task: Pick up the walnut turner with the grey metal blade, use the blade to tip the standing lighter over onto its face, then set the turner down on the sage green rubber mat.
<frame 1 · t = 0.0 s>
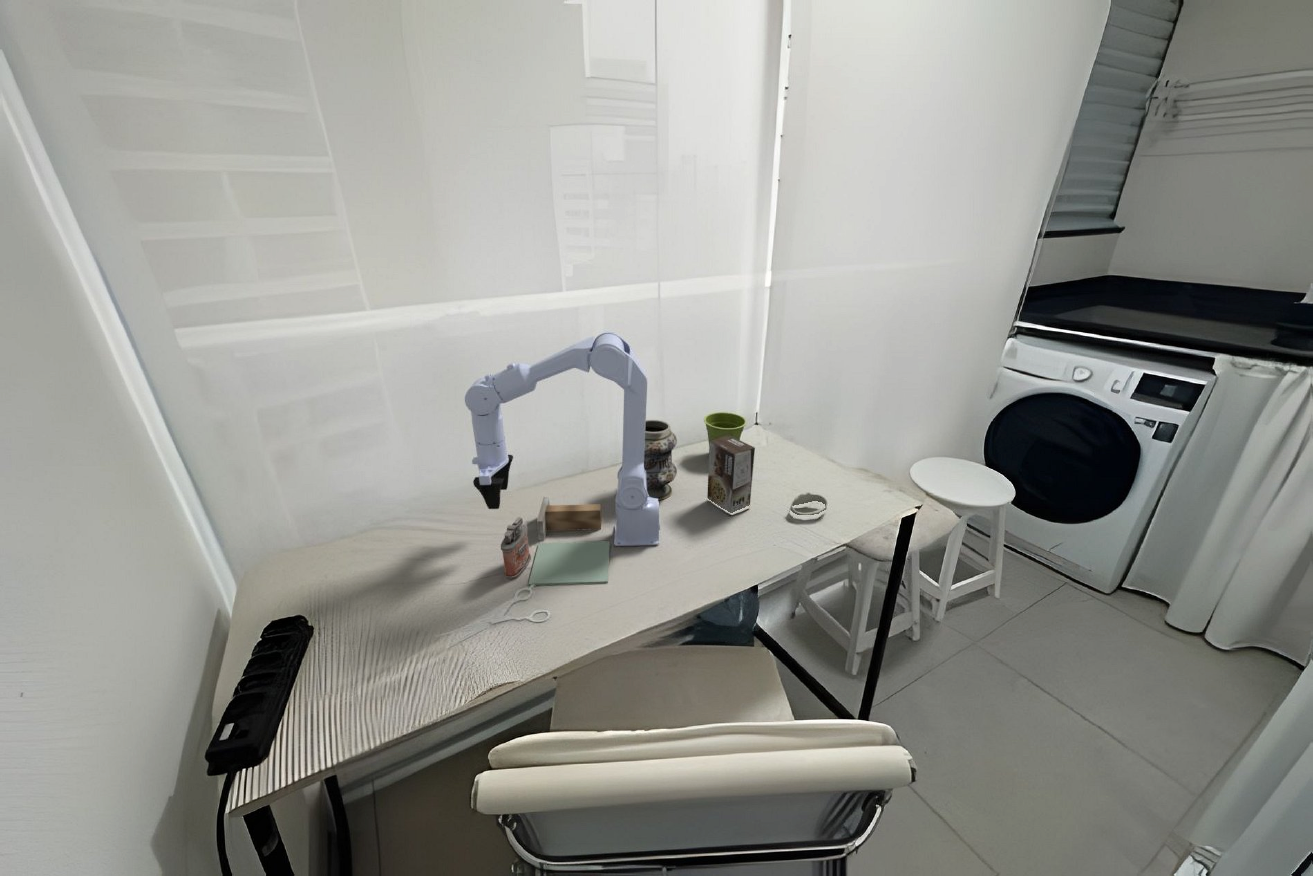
hand: (498, 498, 111), 10 cm above the table, tool pointing down, fingers open, 7 cm apart
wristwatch: (807, 515, 125), on the table
apothecary jar: (652, 492, 134), on the table
scissors: (495, 622, 93), on the table
plant pot: (722, 456, 152), on the table
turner: (566, 527, 119), on the table
coffee box: (728, 505, 129), on the table
tool mat: (571, 562, 108), on the table
lighter: (518, 568, 106), on the table
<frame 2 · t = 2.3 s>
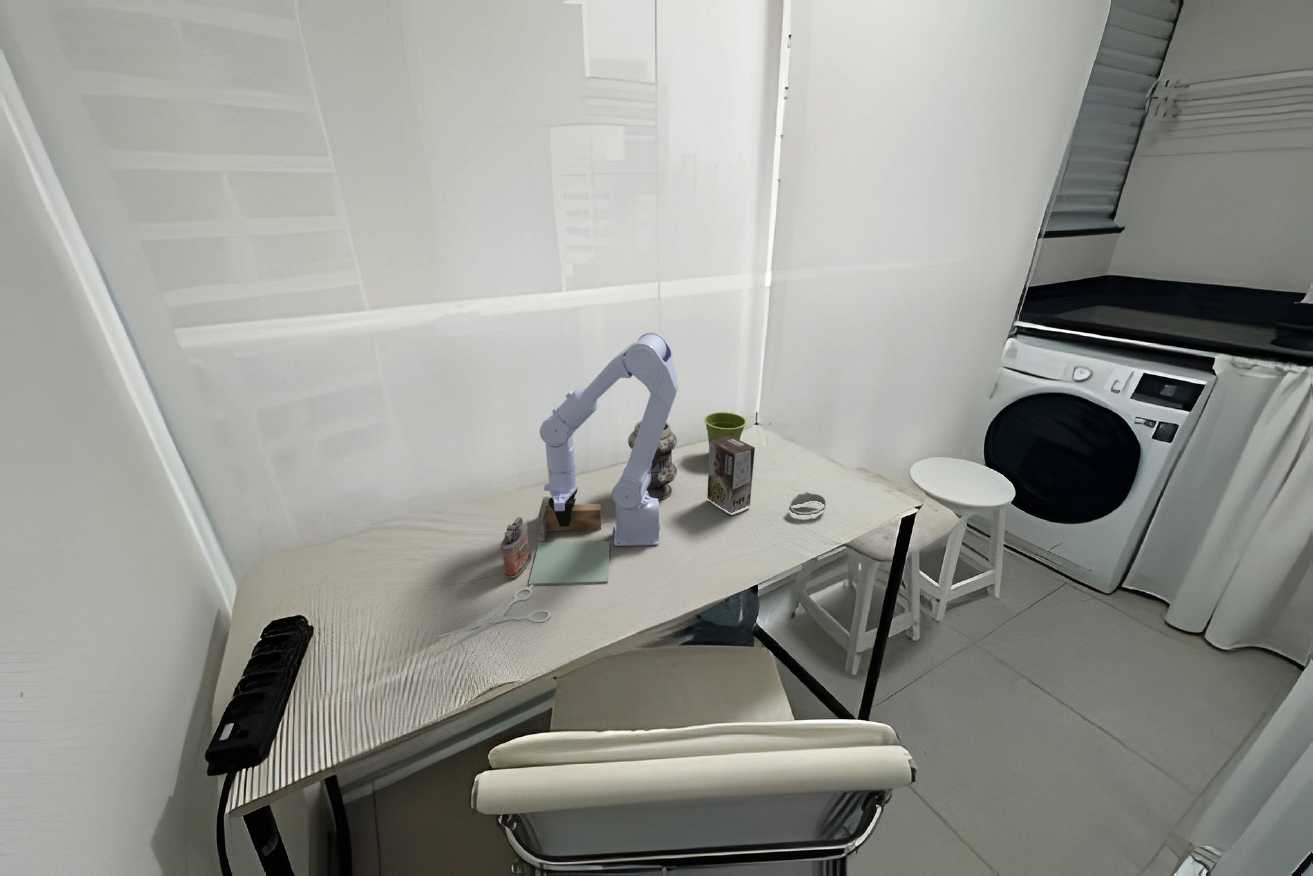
hand: (565, 521, 119), 1 cm above the table, tool pointing down, fingers closed on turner, 2 cm apart
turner: (566, 526, 119), on the table, touching gripper
everything else where it was.
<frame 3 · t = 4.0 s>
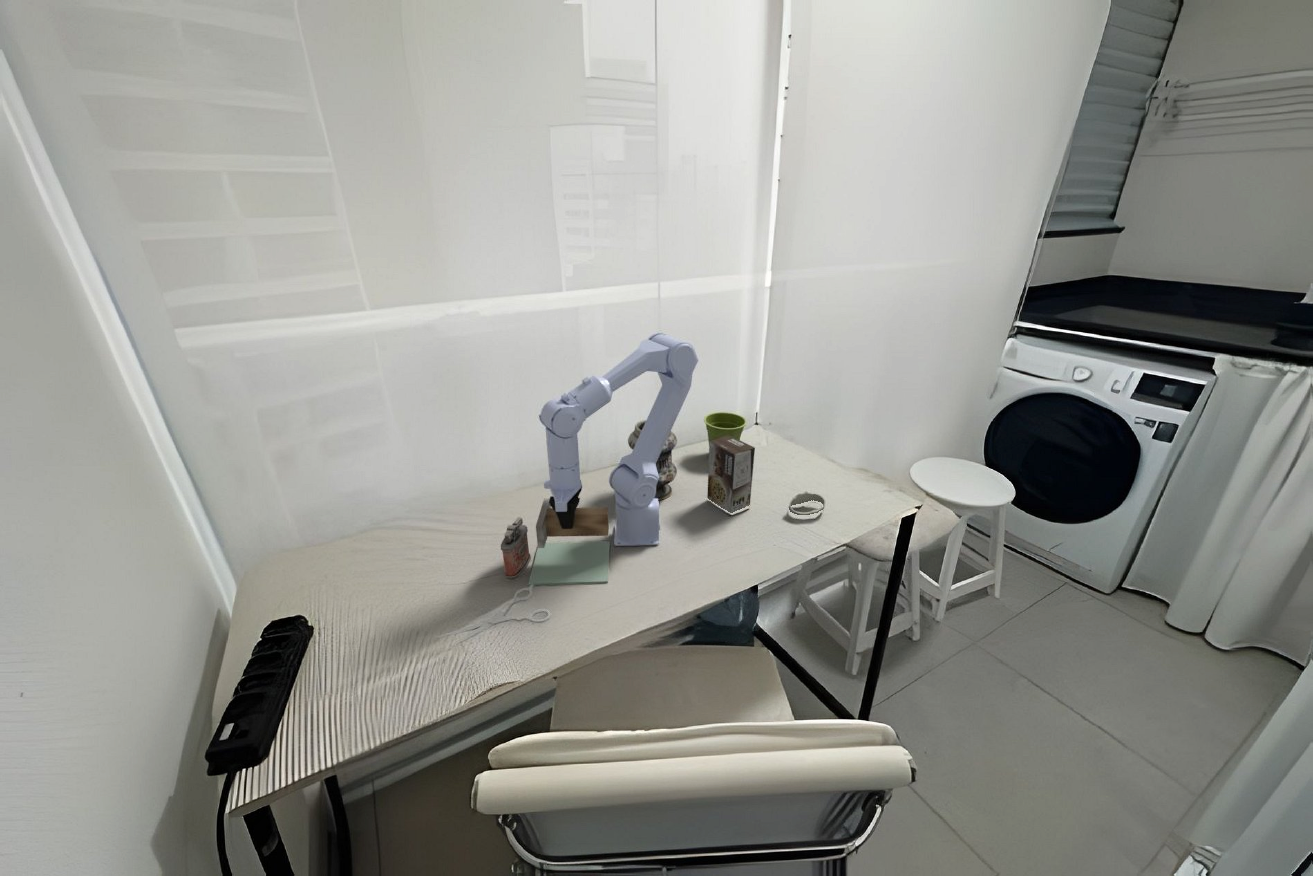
hand: (568, 523, 106), 8 cm above the table, tool pointing down, fingers closed on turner, 2 cm apart
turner: (568, 532, 107), point 6 cm above the table, touching gripper
everything else where it was.
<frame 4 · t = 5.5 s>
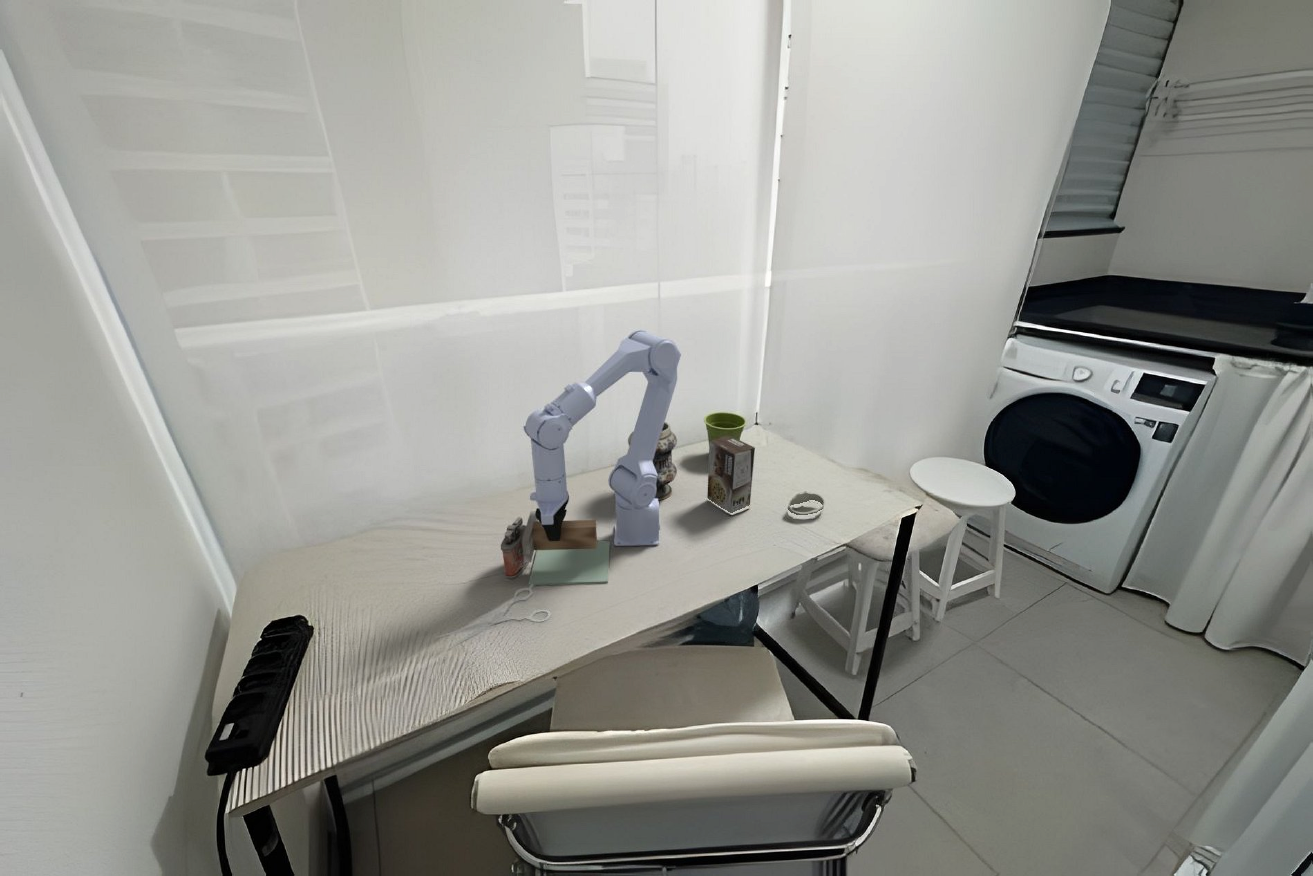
hand: (555, 535, 104), 7 cm above the table, tool pointing down, fingers closed on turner, 2 cm apart
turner: (556, 546, 105), point 5 cm above the table, touching gripper
everything else where it was.
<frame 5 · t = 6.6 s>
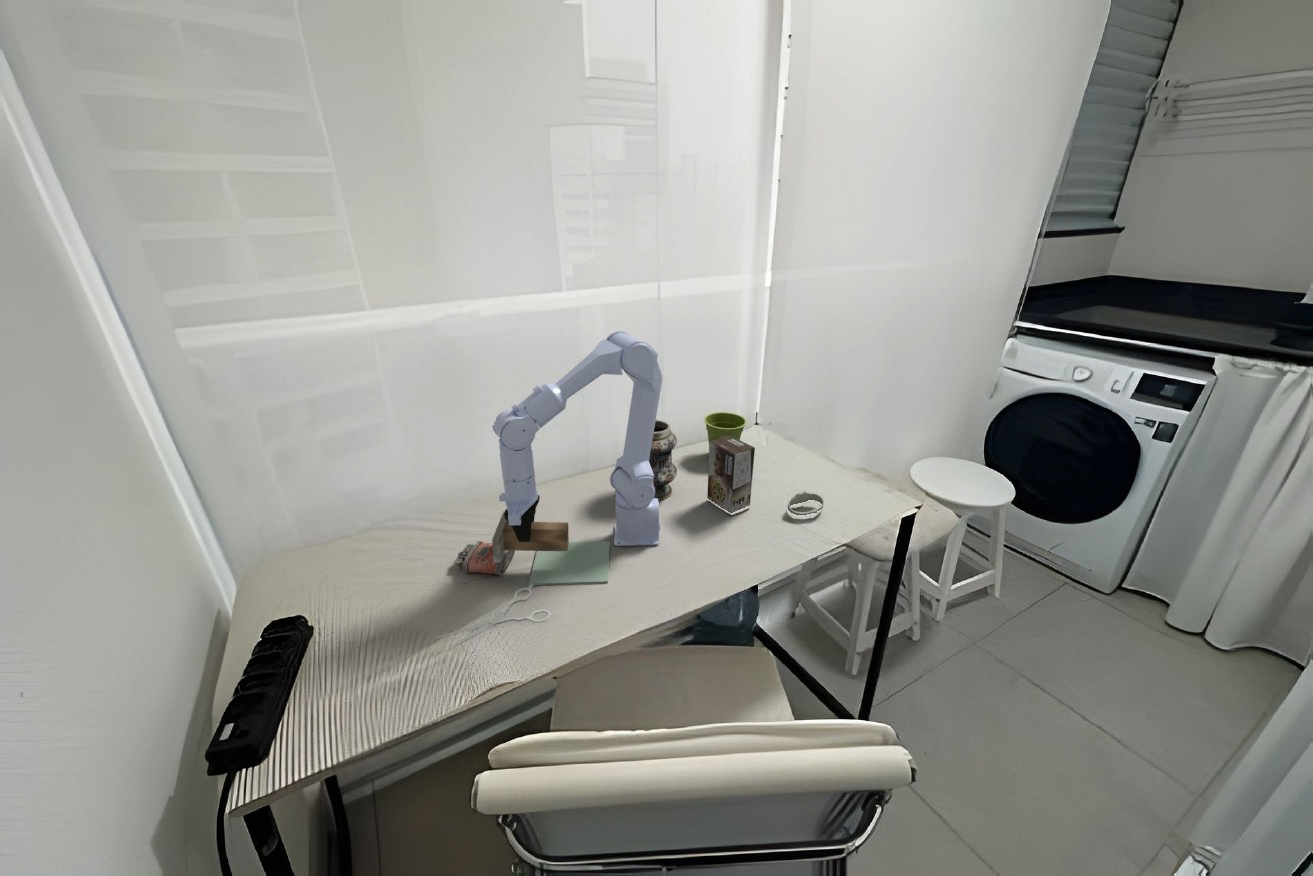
hand: (525, 536, 103), 7 cm above the table, tool pointing down, fingers closed on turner, 2 cm apart
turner: (527, 546, 104), point 5 cm above the table, touching gripper
lighter: (508, 559, 106), point 2 cm above the table
everything else where it was.
when the fingers open (3 cm above the table, at t = 9.2 s): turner stays where it is, resting on tool mat.
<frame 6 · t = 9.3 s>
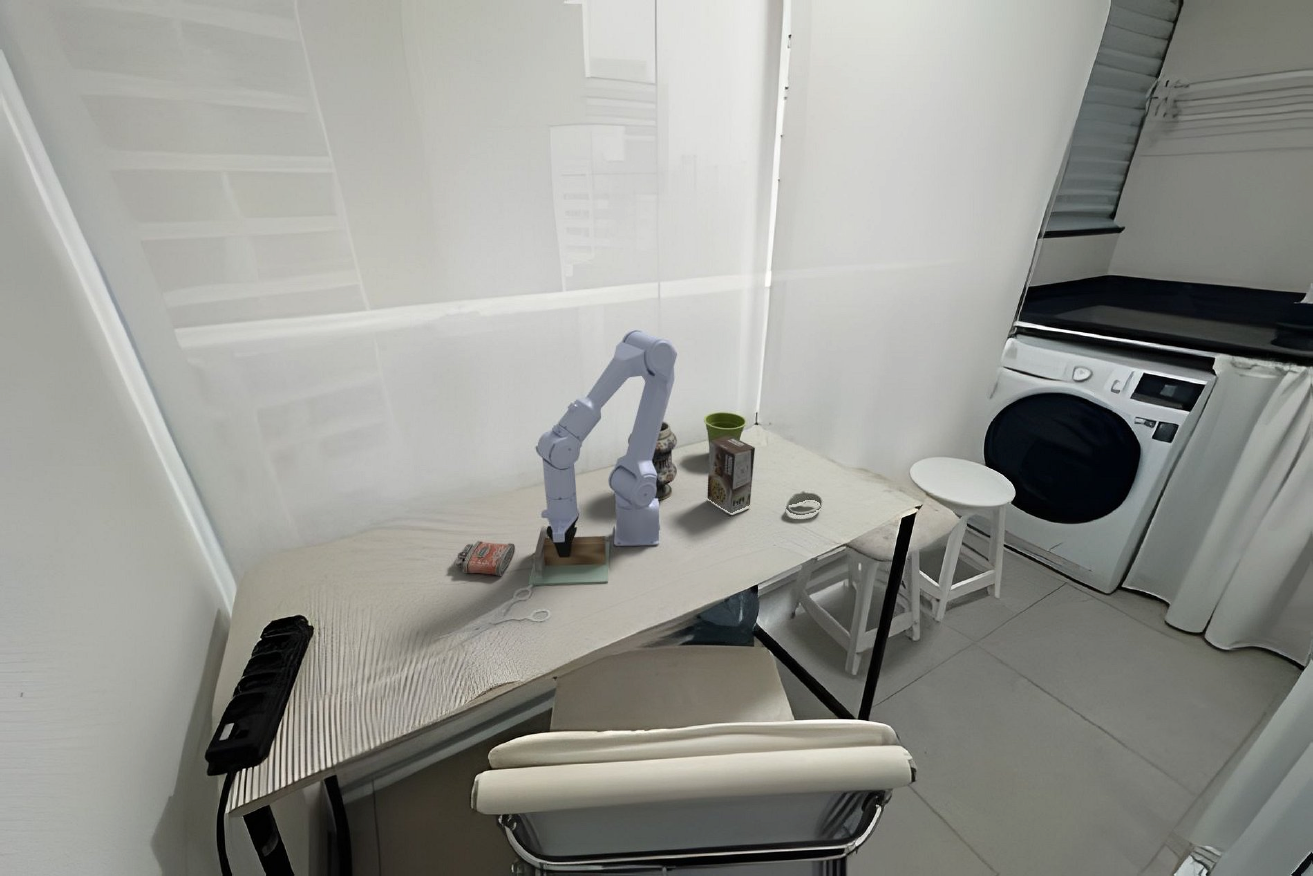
hand: (565, 551, 106), 3 cm above the table, tool pointing down, fingers open, 3 cm apart
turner: (566, 561, 108), resting on tool mat
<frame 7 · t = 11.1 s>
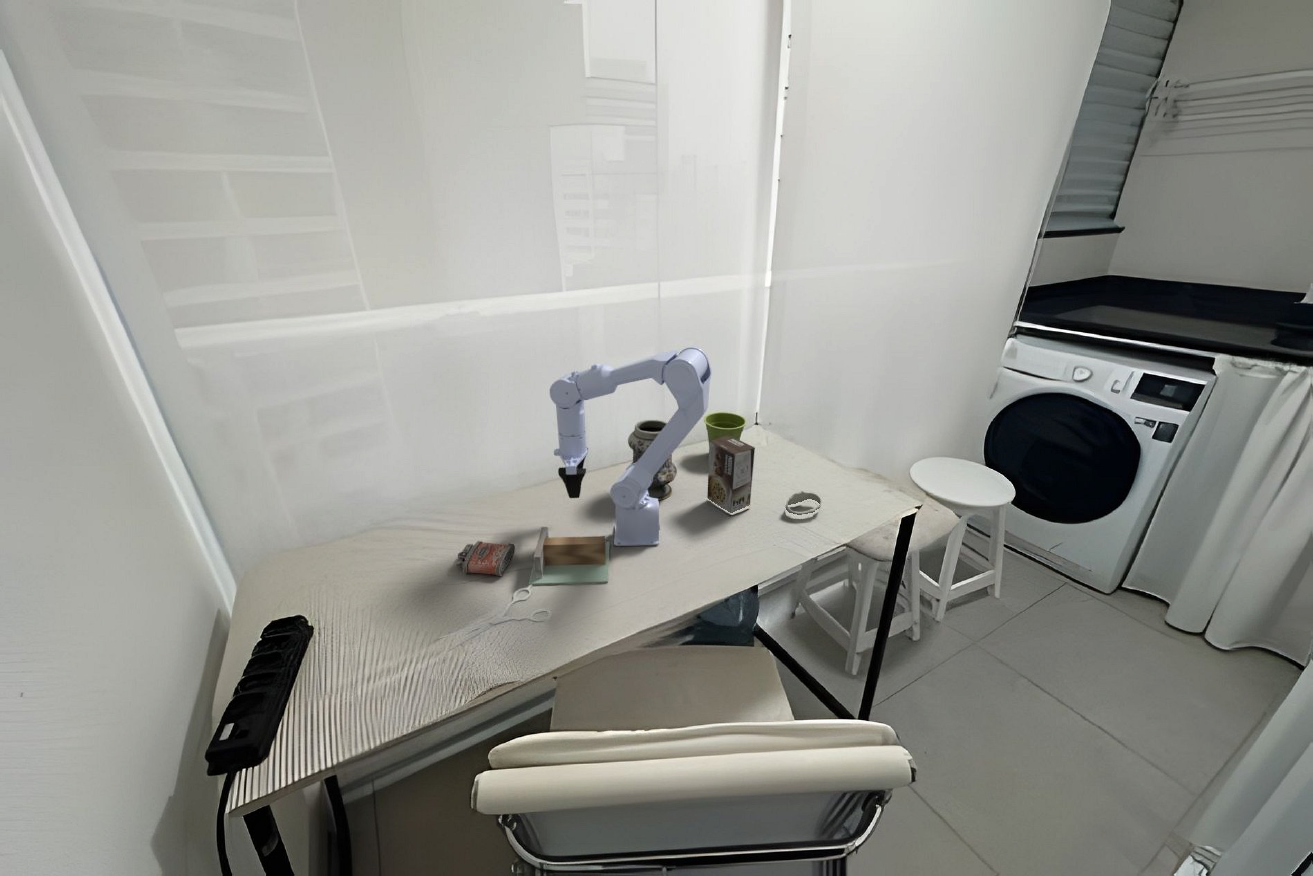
hand: (575, 488, 116), 9 cm above the table, tool pointing down, fingers open, 7 cm apart
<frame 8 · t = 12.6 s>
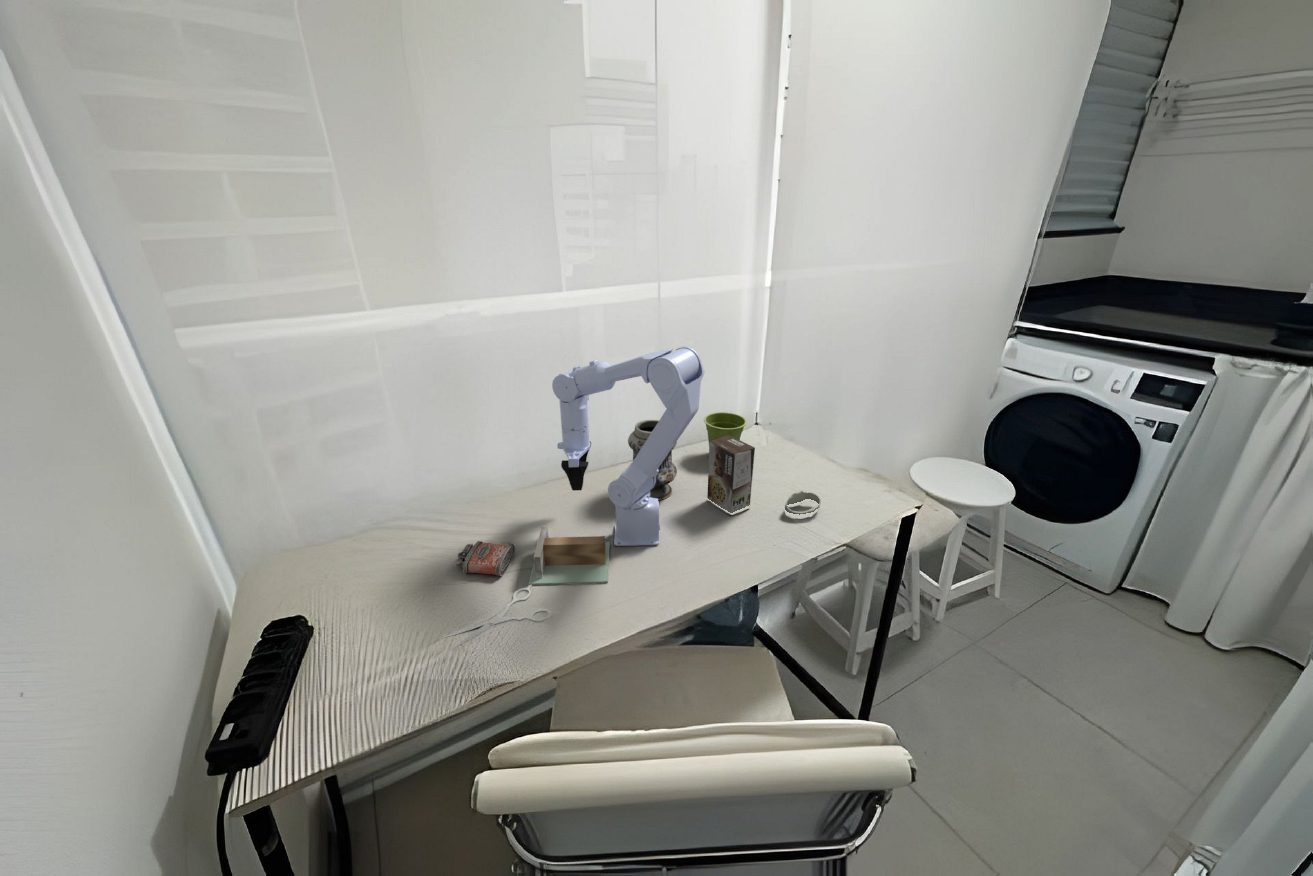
hand: (578, 481, 119), 9 cm above the table, tool pointing down, fingers open, 7 cm apart
at the end: lighter tilted 90°; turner inside the target area on the tool mat (1.0 cm from its centre), point 0.4 cm above the tool mat's base; the gripper is holding nothing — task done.
